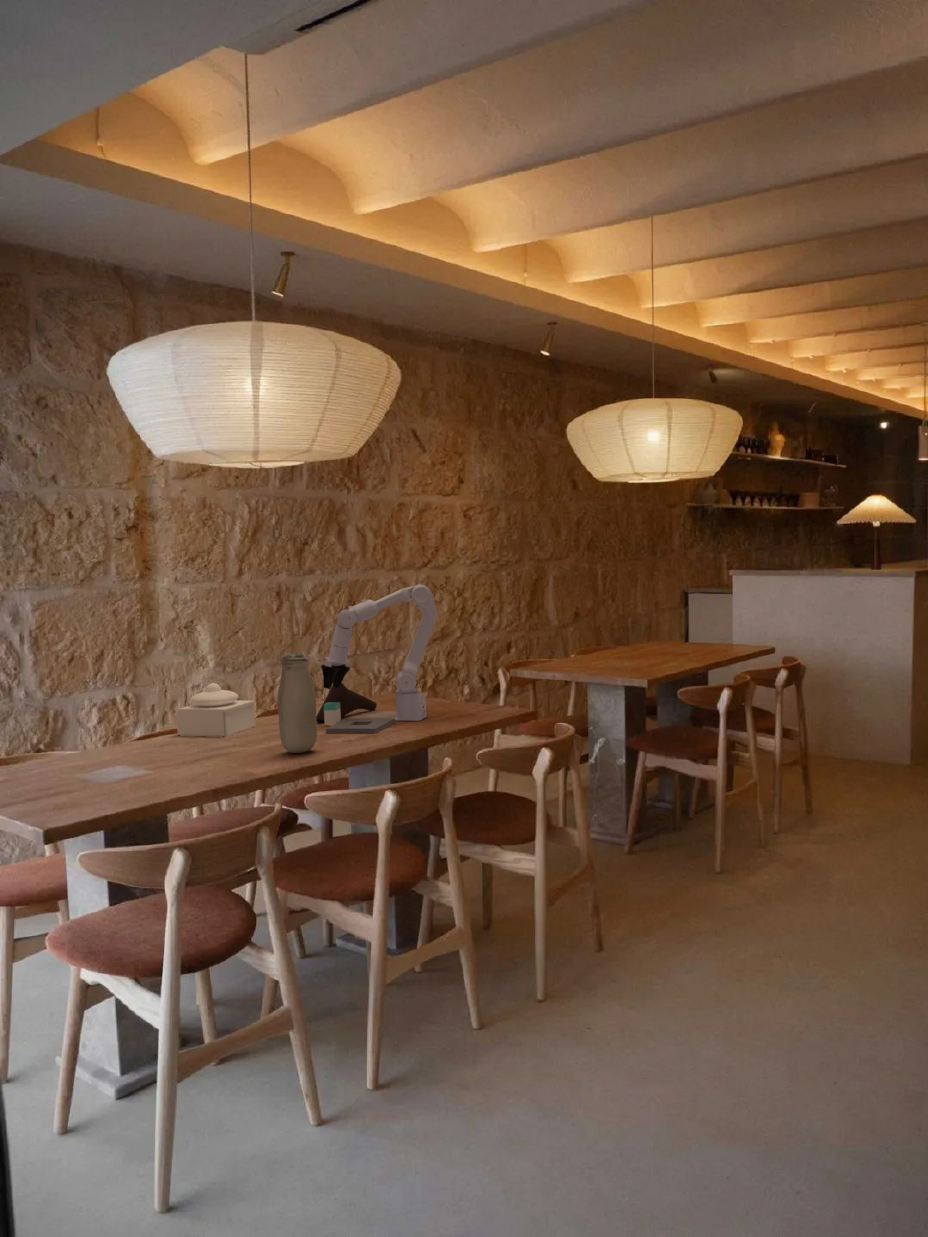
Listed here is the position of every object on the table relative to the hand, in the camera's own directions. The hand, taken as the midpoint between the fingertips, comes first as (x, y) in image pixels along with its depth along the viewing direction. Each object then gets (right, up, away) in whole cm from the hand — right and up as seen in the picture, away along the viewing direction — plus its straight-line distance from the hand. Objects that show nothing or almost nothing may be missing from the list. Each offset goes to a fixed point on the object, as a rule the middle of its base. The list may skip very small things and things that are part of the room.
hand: (331, 687), depth 320 cm
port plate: (+11, -12, -10) cm, 19 cm away
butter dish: (-36, -14, -3) cm, 39 cm away
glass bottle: (-3, -15, -44) cm, 47 cm away
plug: (+1, -12, -1) cm, 12 cm away
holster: (+4, -11, +14) cm, 19 cm away
